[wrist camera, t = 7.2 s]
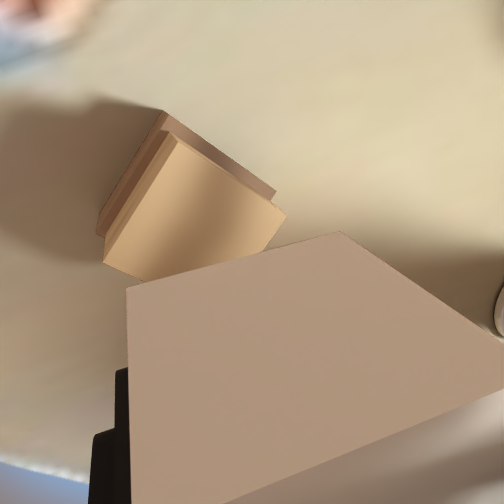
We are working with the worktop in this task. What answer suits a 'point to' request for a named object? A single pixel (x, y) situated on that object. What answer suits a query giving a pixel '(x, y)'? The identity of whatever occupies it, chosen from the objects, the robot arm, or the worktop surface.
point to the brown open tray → (187, 217)
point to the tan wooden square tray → (147, 153)
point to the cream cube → (310, 385)
